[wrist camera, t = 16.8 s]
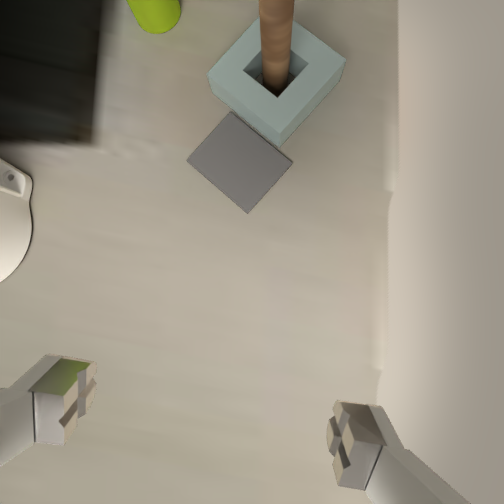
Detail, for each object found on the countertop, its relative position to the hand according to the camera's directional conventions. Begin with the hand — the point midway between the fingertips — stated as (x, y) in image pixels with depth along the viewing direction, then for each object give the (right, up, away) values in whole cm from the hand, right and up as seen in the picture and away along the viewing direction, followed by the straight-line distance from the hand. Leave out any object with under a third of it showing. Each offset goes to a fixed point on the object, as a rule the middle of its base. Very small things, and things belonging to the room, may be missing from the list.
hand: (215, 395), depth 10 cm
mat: (0, +16, +26) cm, 30 cm away
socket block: (+4, +25, +26) cm, 37 cm away
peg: (+4, +25, +26) cm, 37 cm away
